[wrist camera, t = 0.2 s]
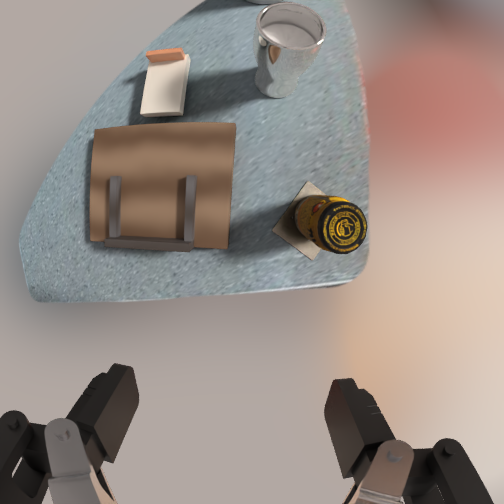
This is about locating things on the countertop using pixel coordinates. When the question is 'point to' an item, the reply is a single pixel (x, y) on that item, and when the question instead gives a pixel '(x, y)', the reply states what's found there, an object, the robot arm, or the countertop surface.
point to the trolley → (165, 83)
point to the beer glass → (285, 46)
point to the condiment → (322, 223)
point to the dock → (162, 186)
